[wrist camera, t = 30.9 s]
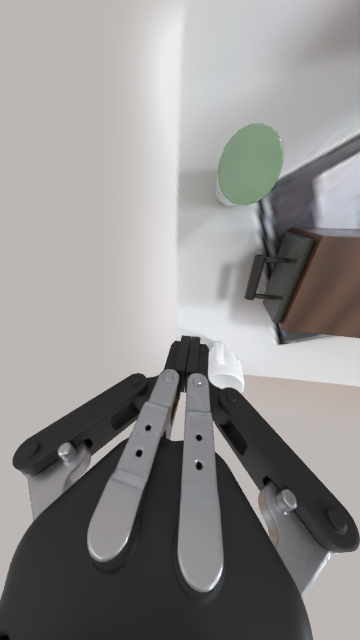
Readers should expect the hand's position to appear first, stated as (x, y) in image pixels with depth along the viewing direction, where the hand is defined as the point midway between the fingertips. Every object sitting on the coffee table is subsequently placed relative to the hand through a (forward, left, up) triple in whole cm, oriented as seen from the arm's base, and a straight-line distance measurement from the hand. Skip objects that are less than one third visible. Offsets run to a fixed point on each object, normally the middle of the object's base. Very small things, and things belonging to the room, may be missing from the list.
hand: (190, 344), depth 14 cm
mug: (+19, +6, -23) cm, 31 cm away
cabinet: (0, +21, -23) cm, 31 cm away
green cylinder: (-12, +3, -23) cm, 26 cm away
